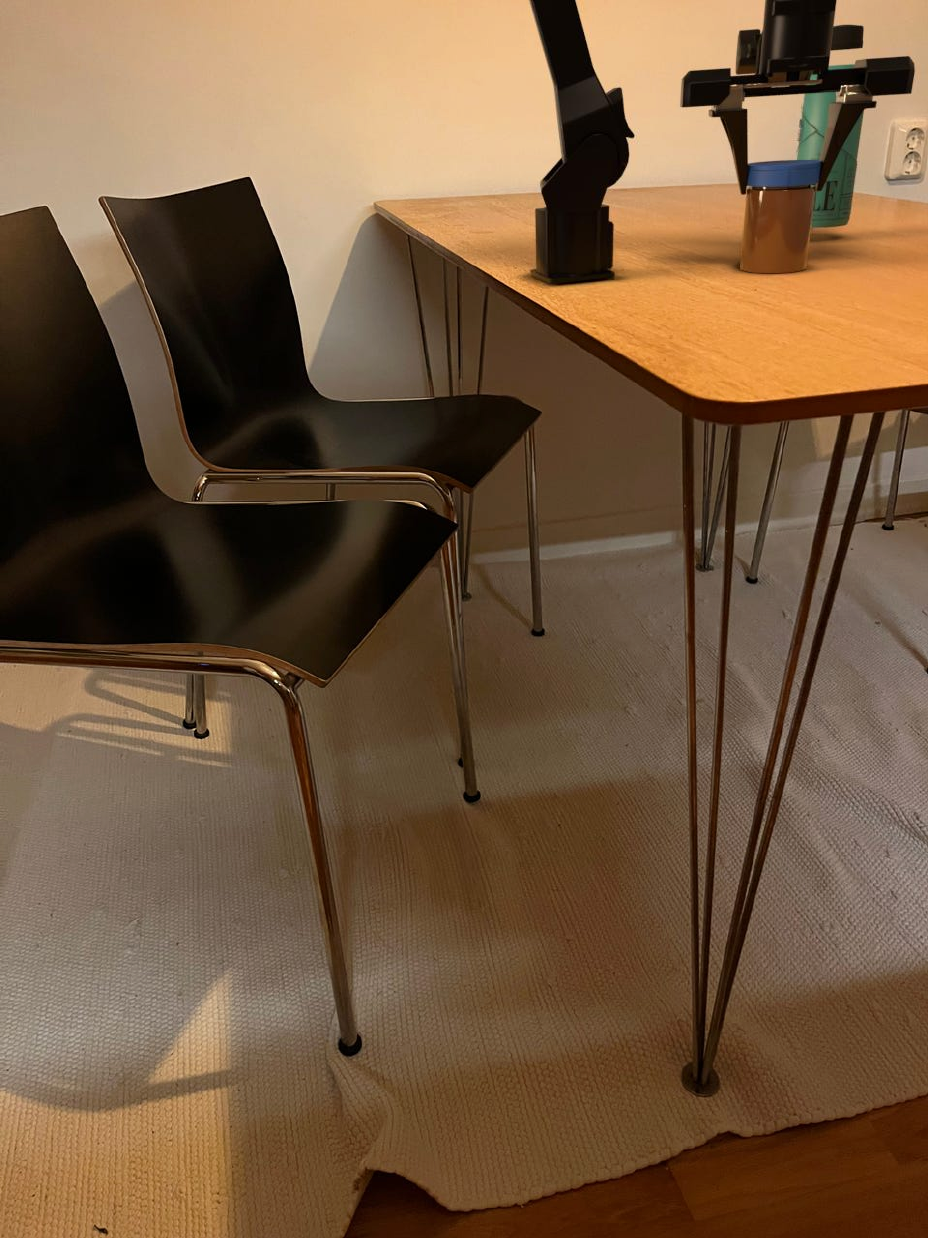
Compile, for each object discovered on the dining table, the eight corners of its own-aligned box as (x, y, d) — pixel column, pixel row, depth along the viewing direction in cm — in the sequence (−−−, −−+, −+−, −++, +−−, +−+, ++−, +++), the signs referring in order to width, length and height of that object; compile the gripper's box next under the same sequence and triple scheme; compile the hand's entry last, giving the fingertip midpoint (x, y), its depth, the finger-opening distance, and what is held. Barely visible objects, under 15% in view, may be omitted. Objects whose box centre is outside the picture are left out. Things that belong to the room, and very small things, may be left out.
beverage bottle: (840, 233, 104) (868, 24, 95) (855, 241, 99) (887, 19, 89) (780, 235, 105) (802, 29, 95) (792, 244, 99) (817, 24, 90)
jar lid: (824, 184, 80) (827, 163, 79) (748, 188, 81) (750, 166, 81) (812, 178, 86) (815, 158, 85) (741, 182, 87) (743, 162, 86)
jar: (761, 275, 84) (771, 173, 80) (728, 266, 89) (735, 170, 85) (819, 269, 85) (831, 168, 81) (783, 260, 90) (793, 165, 86)
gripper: (898, -14, 82) (869, 180, 89) (683, 3, 85) (673, 189, 92) (932, -28, 72) (897, 190, 80) (688, -8, 75) (677, 200, 83)
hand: (780, 192), depth 84 cm, fingers closed on jar lid, 6 cm apart
